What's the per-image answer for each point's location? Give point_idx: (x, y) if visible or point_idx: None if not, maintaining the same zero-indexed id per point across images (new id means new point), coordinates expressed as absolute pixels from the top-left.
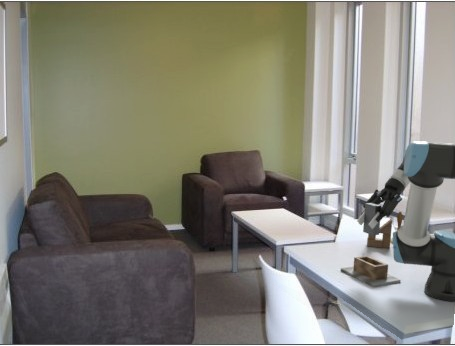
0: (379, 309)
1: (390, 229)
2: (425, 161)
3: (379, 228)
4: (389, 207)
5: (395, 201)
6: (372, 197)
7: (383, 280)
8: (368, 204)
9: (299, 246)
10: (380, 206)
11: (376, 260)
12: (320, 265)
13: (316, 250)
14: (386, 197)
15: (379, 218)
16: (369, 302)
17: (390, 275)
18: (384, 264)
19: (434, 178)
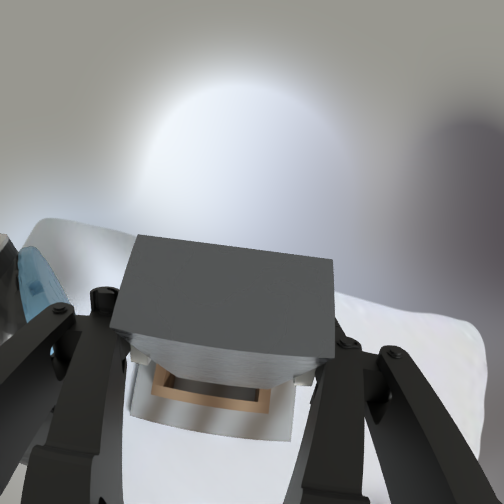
0: (84, 228)
1: None
2: None
3: (170, 372)
4: (17, 334)
5: None
6: (439, 456)
7: (153, 367)
8: (267, 252)
9: (481, 360)
10: (115, 317)
11: (206, 399)
12: (356, 317)
13: (453, 387)
14: (61, 480)
15: None
16: (110, 236)
17: (170, 424)
18: (159, 384)
19: None
